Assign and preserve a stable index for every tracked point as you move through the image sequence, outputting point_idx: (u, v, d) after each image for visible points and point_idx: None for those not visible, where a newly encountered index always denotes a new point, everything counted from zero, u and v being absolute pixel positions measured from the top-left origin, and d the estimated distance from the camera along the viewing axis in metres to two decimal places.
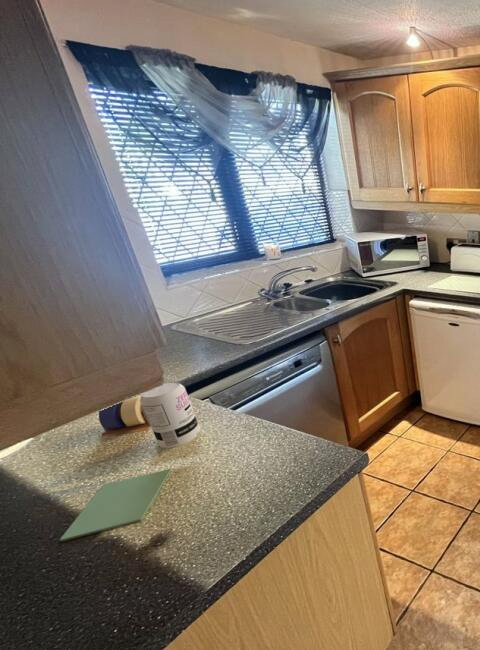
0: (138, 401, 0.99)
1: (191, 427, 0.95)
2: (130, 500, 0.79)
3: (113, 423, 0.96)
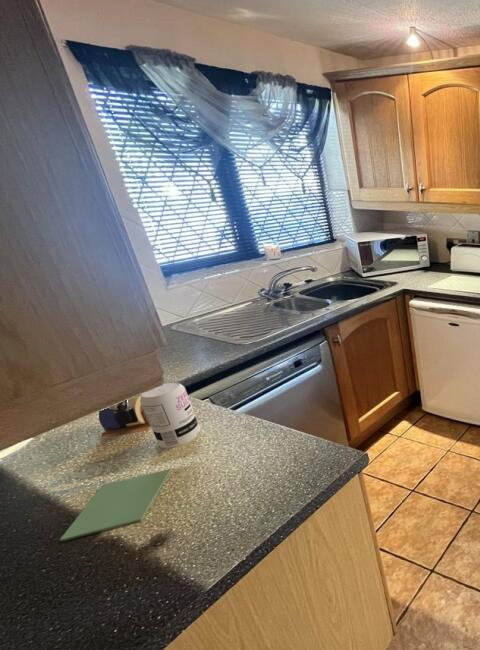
0: (138, 401, 0.99)
1: (191, 427, 0.95)
2: (130, 500, 0.79)
3: (113, 423, 0.96)
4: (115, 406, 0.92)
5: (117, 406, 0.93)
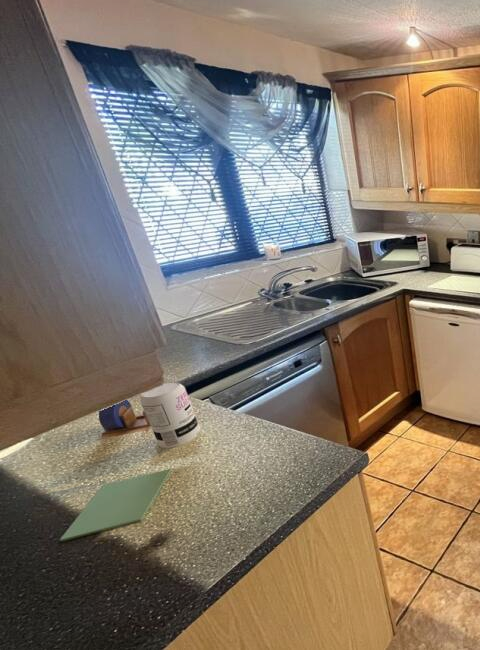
0: None
1: (191, 427, 0.95)
2: (130, 500, 0.79)
3: (113, 423, 0.96)
4: None
5: None
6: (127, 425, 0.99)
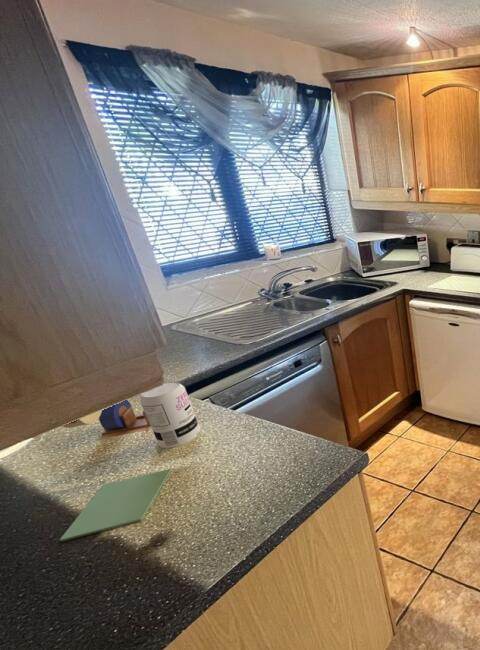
0: None
1: (191, 427, 0.95)
2: (130, 500, 0.79)
3: (113, 423, 0.96)
4: None
5: None
6: (127, 425, 0.99)
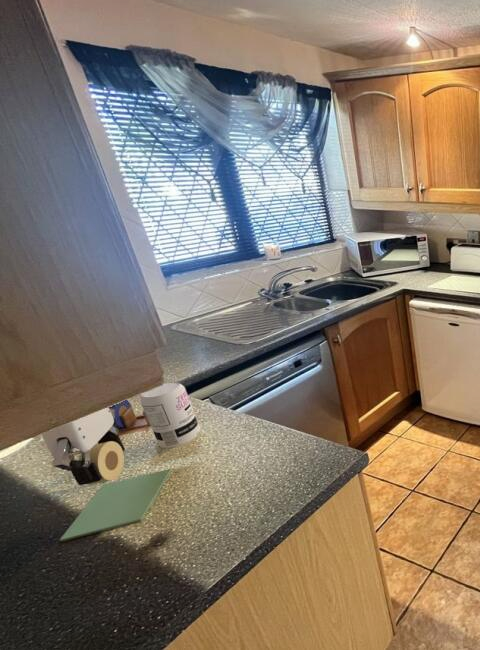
0: (102, 451, 0.74)
1: (191, 427, 0.95)
2: (130, 500, 0.79)
3: None
4: (66, 464, 0.66)
5: (69, 463, 0.67)
6: (127, 425, 0.99)
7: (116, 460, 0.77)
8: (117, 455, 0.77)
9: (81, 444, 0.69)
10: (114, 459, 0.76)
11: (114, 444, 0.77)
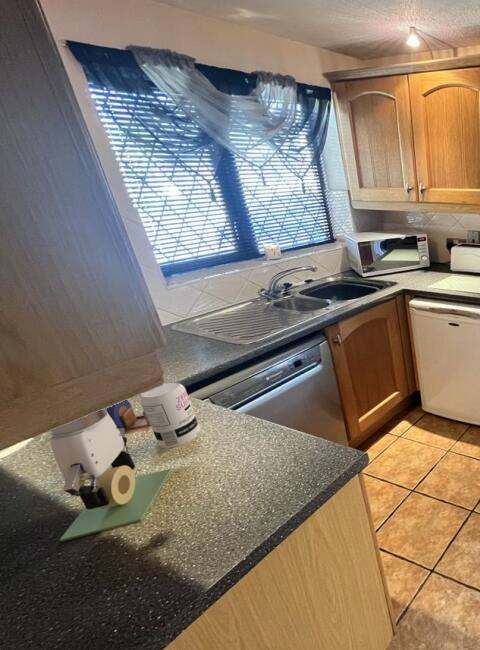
0: (116, 476, 0.76)
1: (191, 427, 0.95)
2: (130, 500, 0.79)
3: None
4: (76, 489, 0.68)
5: (79, 489, 0.68)
6: (127, 425, 0.99)
7: (128, 484, 0.79)
8: (129, 479, 0.80)
9: (94, 469, 0.71)
10: (126, 483, 0.78)
11: (126, 468, 0.79)
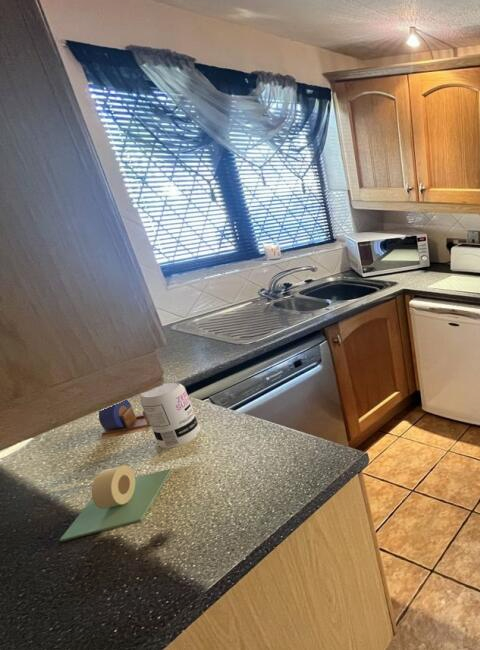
0: (116, 476, 0.76)
1: (191, 427, 0.95)
2: (130, 500, 0.79)
3: (113, 423, 0.96)
4: None
5: None
6: (127, 425, 0.99)
7: (128, 484, 0.79)
8: (129, 479, 0.80)
9: None
10: (126, 483, 0.78)
11: (126, 468, 0.79)
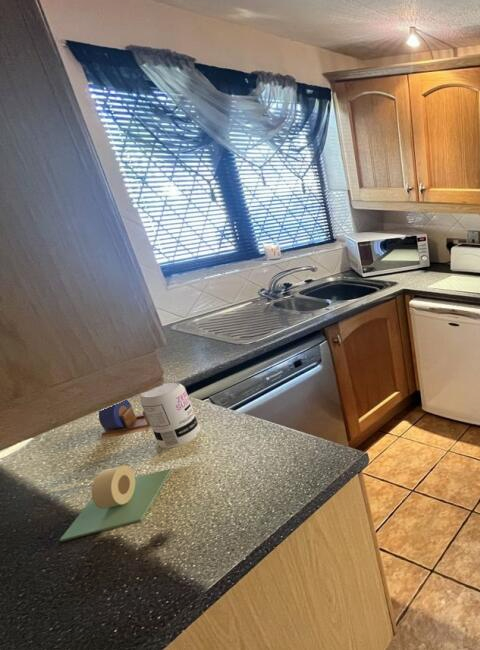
0: (116, 476, 0.76)
1: (191, 427, 0.95)
2: (130, 500, 0.79)
3: (113, 423, 0.96)
4: None
5: None
6: (127, 425, 0.99)
7: (128, 484, 0.79)
8: (129, 479, 0.79)
9: None
10: (126, 483, 0.78)
11: (126, 468, 0.79)
